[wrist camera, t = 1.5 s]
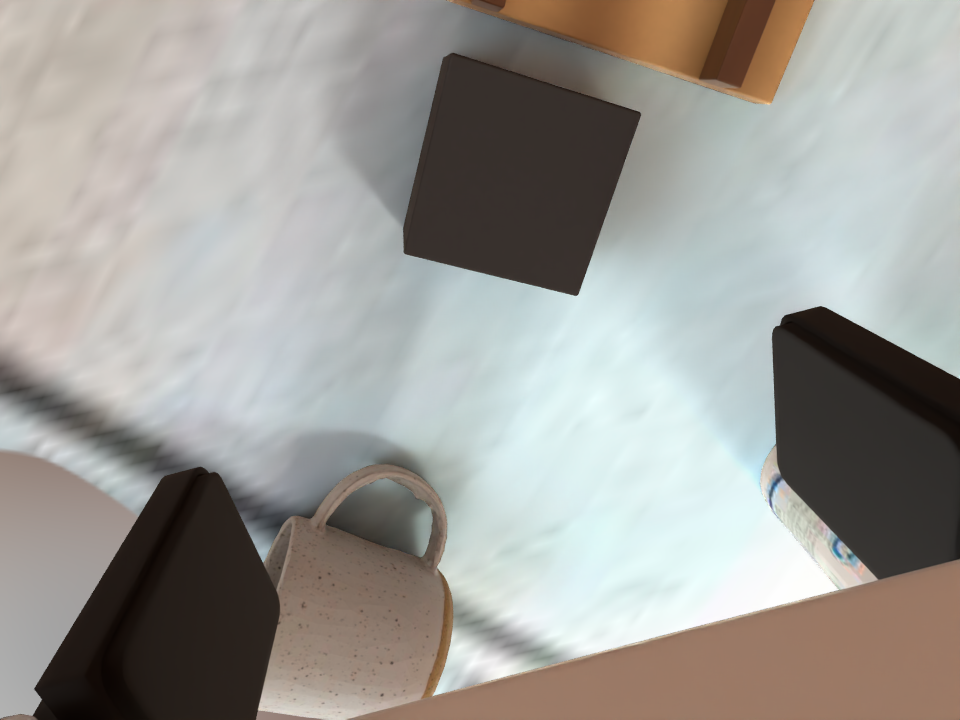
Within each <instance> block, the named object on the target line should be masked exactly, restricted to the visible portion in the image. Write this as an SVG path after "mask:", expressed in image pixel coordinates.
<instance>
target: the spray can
mask: <svg viewBox="0 0 960 720" xmlns="http://www.w3.org/2000/svg"><path fill="white" fill-rule="evenodd" d="M760 485H761V490H762V495H763V496H764V498H765V501H766V502H767V504H768V506H769V507H770V509H771V511H772V512H773V513H774V514H775V515H776V516H777V518H778V519H779V520H780V521H781V522H782V523H783V525H784V526H785V527H786V528H787V529H788V530H789V532H790V533H791V534H792V535H793V536H794V538H795V539H796V540H797V541H798V542H799V543H800V545H801V546H802V547H803V548H804V549H805V551H806V552H807V553H808V554H809V555H810V556H811V558H812V559H813V560H814V561H815V562H816V563H817V565H818V566H819V567H820V568H821V569H822V571H823V572H824V573H825V574H826V575H827V576H828V578H829V579H830V580H831V581H832V582H833V584H834V585H835V586H836V587H837V588H838V589H839V590H841V589H845V588H849V587H853V586H857V585H861V584H865V583H869V582H873V581H876V580H878V579H877V578H876V577H875V576H874V575H873V574H872V573H871V571H870V570H869V569H868V568H867V567H866V566H865V565H864V564H863V563H862V562H861V561H860V560H859V559H858V558H857V557H856V556H855V555H854V554H853V553H852V552H851V551H850V549H849V548H848V547H847V546H846V545H845V544H844V543H843V542H842V541H841V540H840V539H839V538H838V537H837V536H836V535H835V534H834V533H833V532H832V531H831V530H830V529H829V528H828V526H827V525H826V524H825V523H824V522H823V521H822V520H821V519H820V518H819V517H818V516H817V515H816V514H815V513H814V512H813V511H812V510H811V509H810V508H809V507H808V506H807V504H806V503H805V502H804V501H803V500H802V499H801V498H800V497H799V496H798V495H797V494H796V493H795V492H794V491H793V490H792V489H791V488H790V487H789V486H788V485H787V483H786V482H785V481H784V479H783V478H782V476H781V474H780V471H779V468H778V465H777V449H776V445H775V446H774V447H773V449H772V450H771V452H770V453H769V454H768V456H767V458H766V460H765V463H764V465H763V468H762V471H761V479H760Z"/></svg>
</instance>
